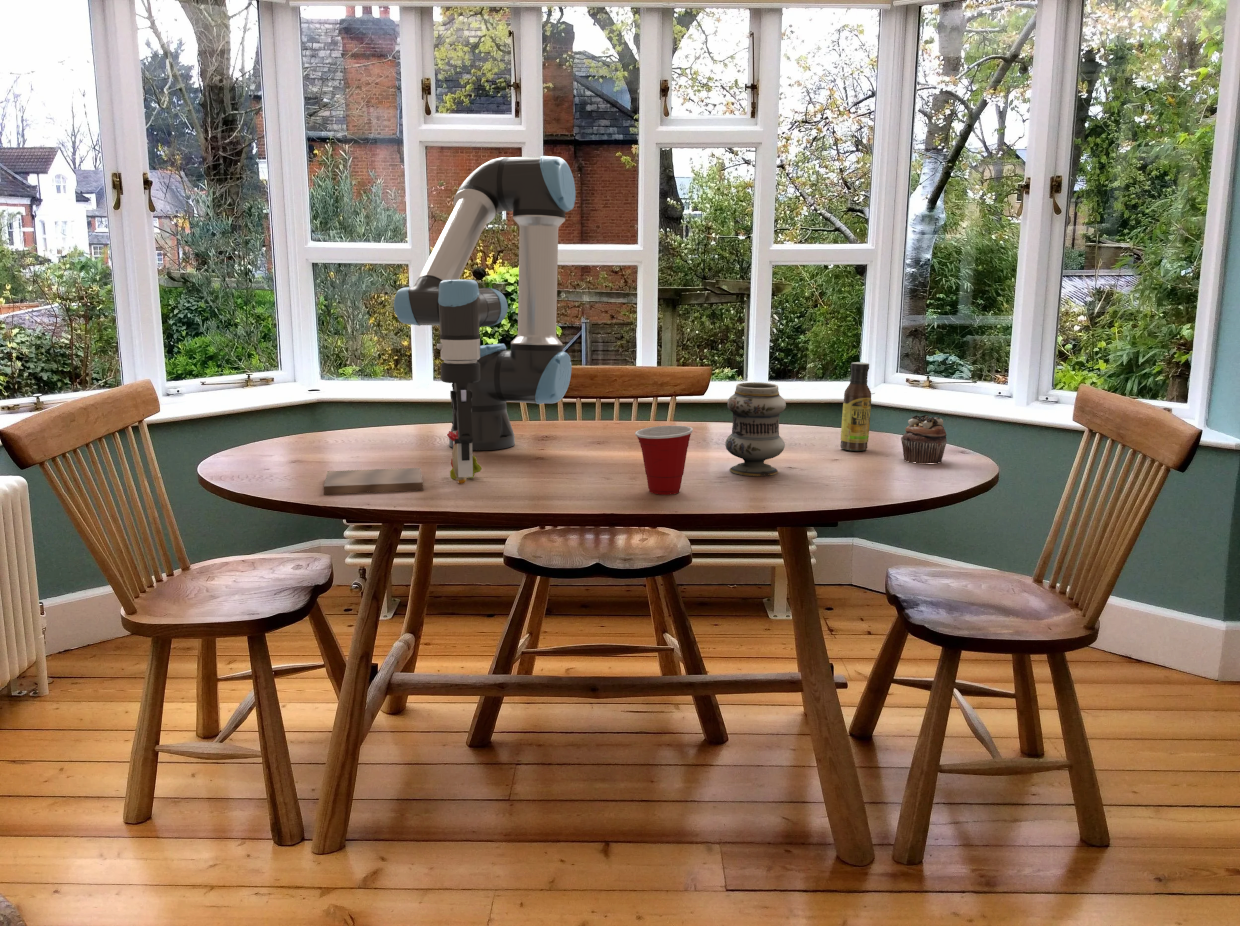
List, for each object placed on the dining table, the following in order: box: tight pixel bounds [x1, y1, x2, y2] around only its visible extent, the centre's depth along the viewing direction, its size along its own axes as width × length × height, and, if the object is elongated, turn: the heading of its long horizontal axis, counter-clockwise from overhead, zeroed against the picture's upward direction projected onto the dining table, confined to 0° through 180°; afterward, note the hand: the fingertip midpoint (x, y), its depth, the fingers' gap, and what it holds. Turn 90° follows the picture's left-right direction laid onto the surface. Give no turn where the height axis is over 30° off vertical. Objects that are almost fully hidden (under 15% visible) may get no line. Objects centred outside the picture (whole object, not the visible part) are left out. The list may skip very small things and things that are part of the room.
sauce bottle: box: [840, 361, 872, 452], centre depth 236 cm, size 6×6×20 cm
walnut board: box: [323, 467, 424, 495], centre depth 200 cm, size 18×14×2 cm
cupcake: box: [900, 414, 948, 464], centre depth 225 cm, size 10×10×10 cm
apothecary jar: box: [724, 381, 787, 477], centre depth 212 cm, size 12×12×18 cm
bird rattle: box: [447, 430, 482, 485], centre depth 203 cm, size 6×11×9 cm
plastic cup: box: [634, 425, 693, 496], centre depth 194 cm, size 11×11×12 cm
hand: (463, 469), depth 204 cm, fingers open, 13 cm apart
